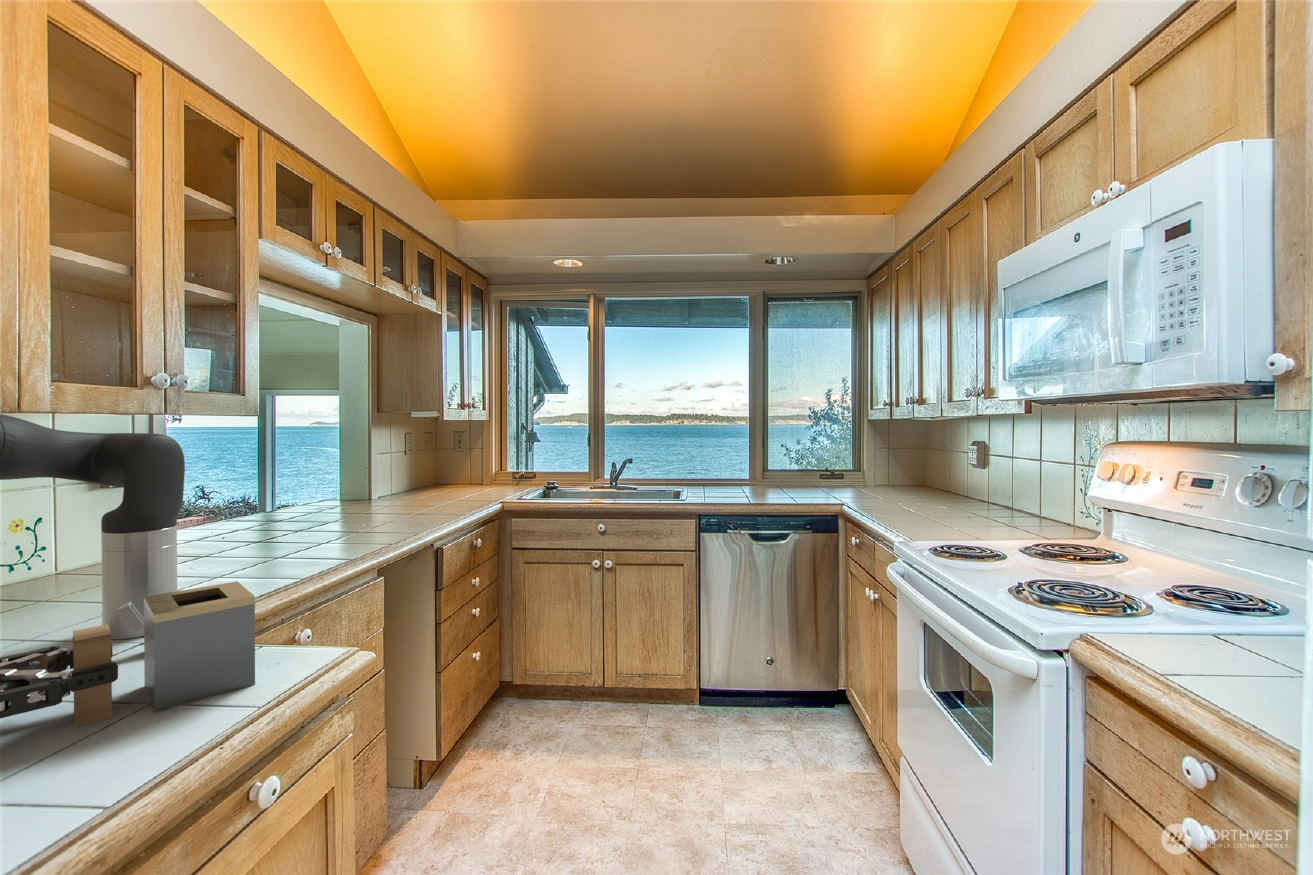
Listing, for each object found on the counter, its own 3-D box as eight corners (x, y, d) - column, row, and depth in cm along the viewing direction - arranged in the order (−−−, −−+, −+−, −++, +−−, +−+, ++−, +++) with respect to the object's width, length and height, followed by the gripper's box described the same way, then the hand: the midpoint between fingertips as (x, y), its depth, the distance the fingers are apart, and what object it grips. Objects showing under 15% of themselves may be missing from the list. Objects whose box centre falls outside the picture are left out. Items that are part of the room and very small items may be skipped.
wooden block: (73, 712, 66) (72, 630, 65) (109, 703, 68) (108, 624, 68) (75, 726, 63) (74, 640, 62) (112, 716, 65) (111, 633, 65)
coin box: (144, 685, 72) (143, 596, 72) (237, 662, 80) (237, 581, 79) (154, 713, 66) (153, 615, 65) (255, 684, 73) (254, 596, 73)
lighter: (182, 644, 86) (182, 594, 86) (181, 648, 84) (180, 597, 84) (120, 655, 82) (119, 602, 81) (117, 659, 80) (117, 606, 80)
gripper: (-130, 698, 50) (120, 645, 62) (-102, 653, 59) (110, 615, 71) (-128, 779, 50) (120, 710, 62) (-101, 721, 59) (110, 672, 71)
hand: (114, 659), depth 67 cm, fingers open, 8 cm apart
